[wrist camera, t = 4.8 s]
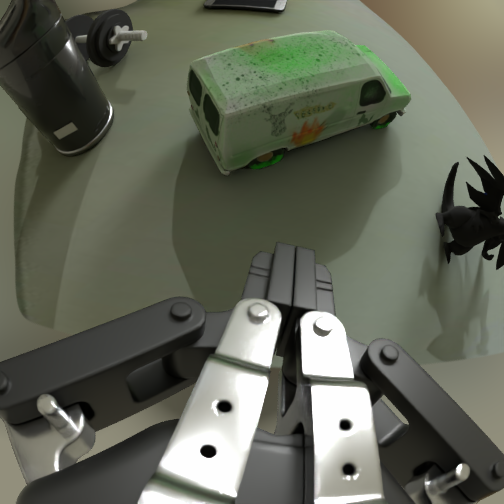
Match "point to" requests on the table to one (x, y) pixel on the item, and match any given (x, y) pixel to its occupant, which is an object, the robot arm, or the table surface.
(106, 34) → the dumbbell
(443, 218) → the figurine
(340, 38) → the toy car
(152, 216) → the table surface
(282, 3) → the smartphone
